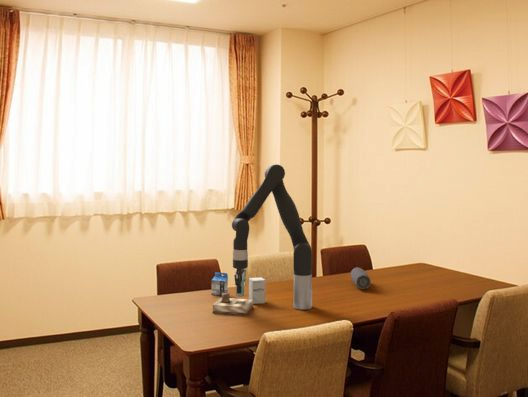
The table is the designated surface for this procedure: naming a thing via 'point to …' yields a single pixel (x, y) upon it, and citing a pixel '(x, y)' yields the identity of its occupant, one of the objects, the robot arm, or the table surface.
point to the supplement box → (257, 290)
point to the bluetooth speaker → (360, 278)
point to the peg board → (232, 305)
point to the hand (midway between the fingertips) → (240, 292)
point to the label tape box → (219, 284)
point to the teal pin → (241, 289)
